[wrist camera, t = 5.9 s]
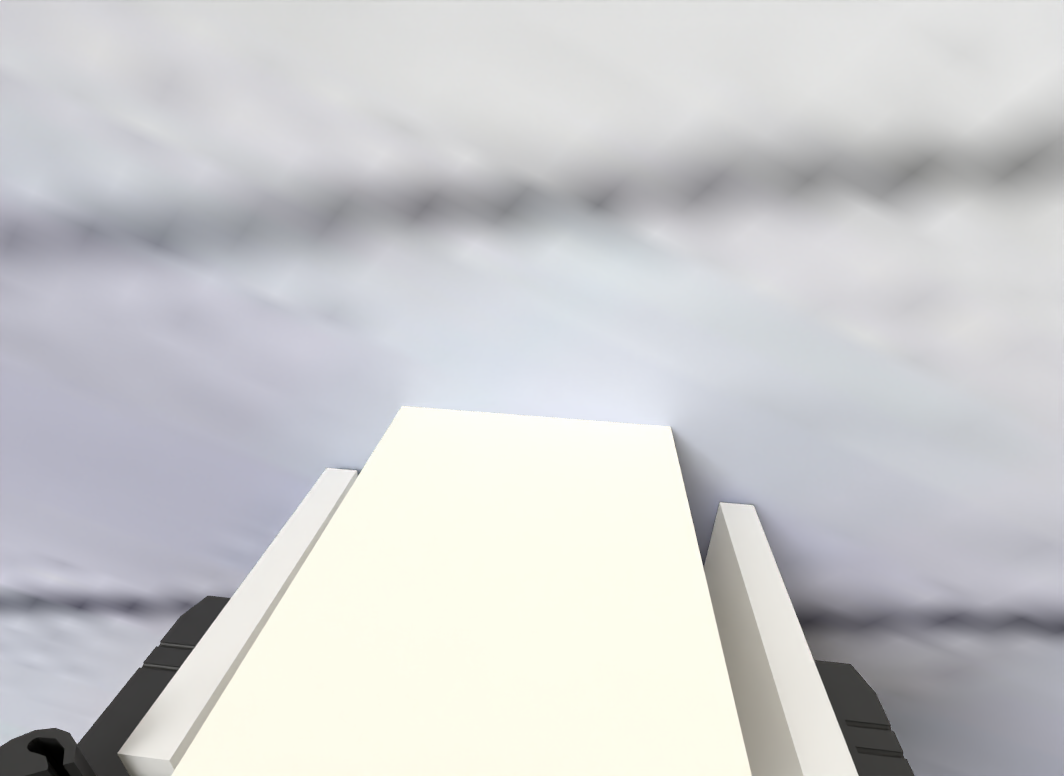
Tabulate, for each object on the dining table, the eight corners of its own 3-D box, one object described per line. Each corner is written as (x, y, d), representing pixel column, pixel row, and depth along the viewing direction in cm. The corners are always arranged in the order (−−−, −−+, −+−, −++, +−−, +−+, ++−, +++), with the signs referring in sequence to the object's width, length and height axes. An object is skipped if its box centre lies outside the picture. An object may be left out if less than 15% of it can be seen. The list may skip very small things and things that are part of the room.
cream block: (402, 405, 12) (147, 812, 5) (670, 425, 12) (780, 900, 5) (420, 591, 15) (270, 1016, 8) (637, 613, 15) (676, 1084, 8)
